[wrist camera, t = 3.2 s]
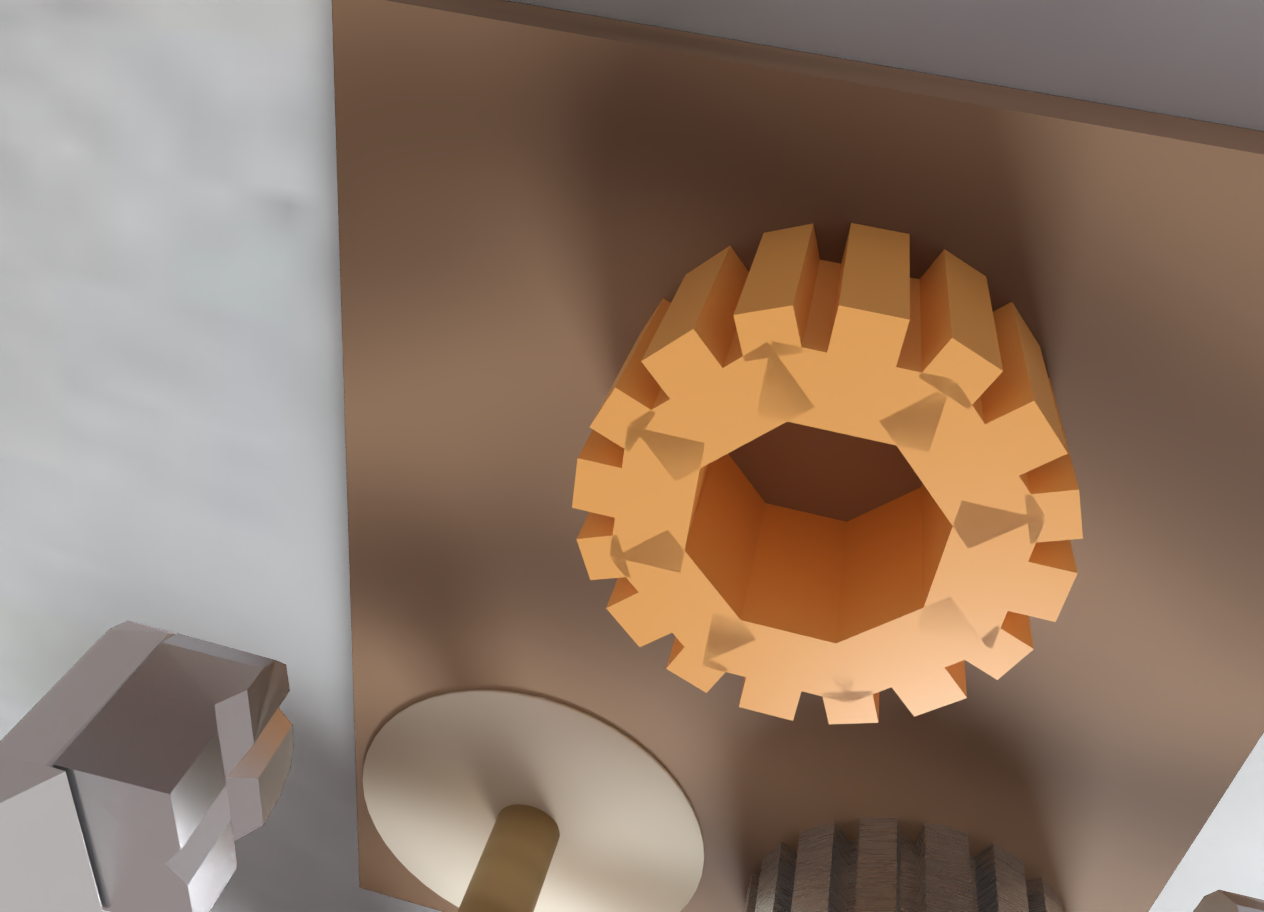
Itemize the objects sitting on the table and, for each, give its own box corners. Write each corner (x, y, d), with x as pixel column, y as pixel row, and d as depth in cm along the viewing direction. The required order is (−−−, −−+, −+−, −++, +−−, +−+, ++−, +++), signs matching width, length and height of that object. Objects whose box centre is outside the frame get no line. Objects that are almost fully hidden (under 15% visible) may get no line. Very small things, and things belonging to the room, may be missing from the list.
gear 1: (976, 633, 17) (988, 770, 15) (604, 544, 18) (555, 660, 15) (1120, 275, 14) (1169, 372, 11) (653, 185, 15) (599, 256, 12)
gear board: (1029, 1021, 24) (1064, 1366, 19) (385, 836, 26) (248, 1099, 21) (1533, 177, 13) (1961, 410, 8) (378, -22, 15) (89, 53, 10)
